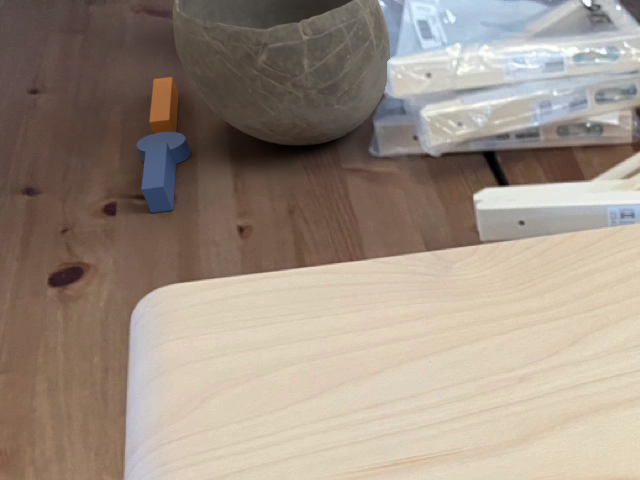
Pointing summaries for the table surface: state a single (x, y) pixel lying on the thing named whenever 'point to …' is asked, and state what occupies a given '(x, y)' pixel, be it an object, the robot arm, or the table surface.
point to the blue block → (161, 167)
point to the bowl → (285, 64)
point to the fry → (164, 106)
